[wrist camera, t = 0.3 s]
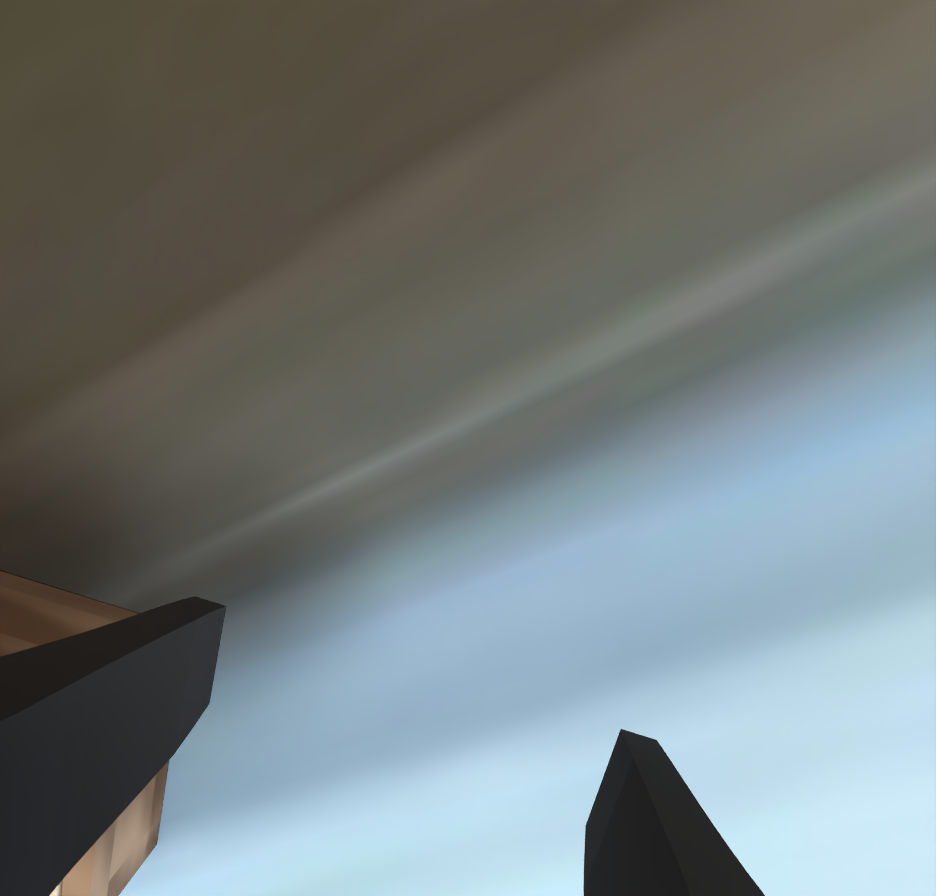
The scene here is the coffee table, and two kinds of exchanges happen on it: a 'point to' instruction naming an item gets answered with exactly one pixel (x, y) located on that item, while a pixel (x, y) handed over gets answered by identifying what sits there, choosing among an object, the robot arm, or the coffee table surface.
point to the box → (136, 830)
